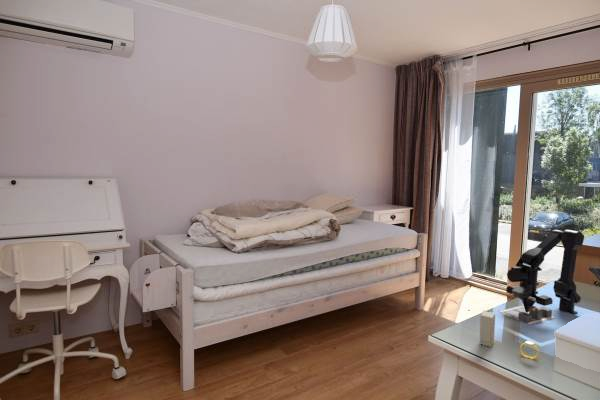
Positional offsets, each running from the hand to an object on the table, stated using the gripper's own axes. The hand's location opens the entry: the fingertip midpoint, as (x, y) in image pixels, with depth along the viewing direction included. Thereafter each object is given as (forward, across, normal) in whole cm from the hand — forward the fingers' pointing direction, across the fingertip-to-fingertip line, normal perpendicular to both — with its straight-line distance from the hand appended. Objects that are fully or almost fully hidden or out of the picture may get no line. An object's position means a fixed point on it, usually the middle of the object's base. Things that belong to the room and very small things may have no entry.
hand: (527, 312), depth 171 cm
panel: (+2, 0, 0) cm, 2 cm away
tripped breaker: (+1, +4, 0) cm, 4 cm away
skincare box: (+2, +10, -38) cm, 39 cm away
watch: (+2, +24, -33) cm, 41 cm away
